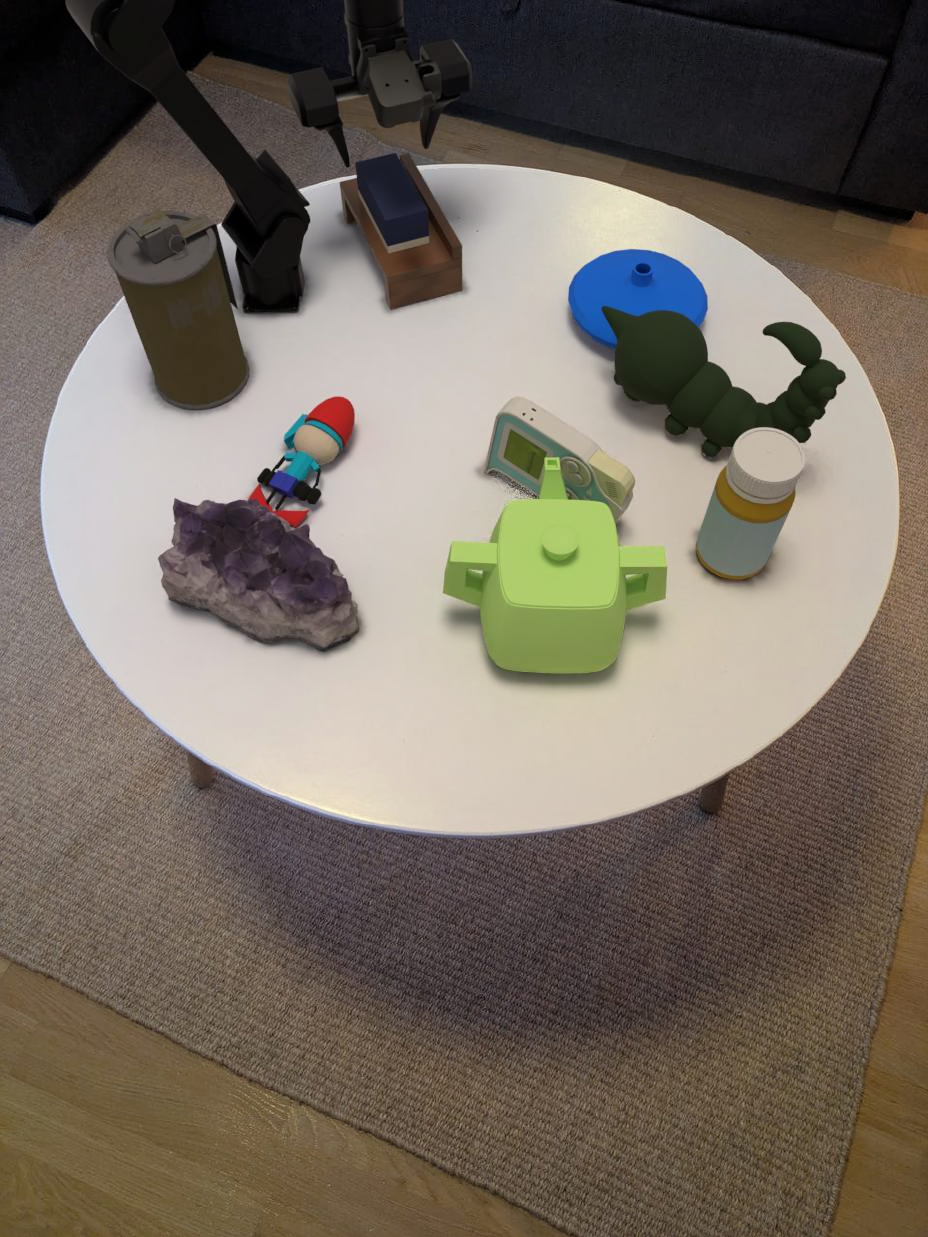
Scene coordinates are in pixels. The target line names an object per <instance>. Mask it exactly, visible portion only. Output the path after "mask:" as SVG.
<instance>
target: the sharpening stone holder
mask: <svg viewBox="0 0 928 1237" xmlns="http://www.w3.org/2000/svg"><path fill="white" fill-rule="evenodd" d="M399 159H400V161H401V163H402V165H403V166H404V168H405V170H406V172H407V173H408V175H409V177H410V179H411V181H412V182H413V184H414V186H415V188H416V189H417V191H418V193H419V195H420V197H421V198H422V200H423V202H424V204H425V205H426V207H427V209H428V222H429V243H428V244H424V245H420V246H417V247H413V248H409V249H405V250H401V251H397V252H393V253H390V254H388V252H387V250H386V248H385V246H384V244H383V242H382V240H381V238H380V236H379V234H378V233H377V231H376V229H375V227H374V225H373V223H372V221H371V219H370V217H369V215H368V213H367V211H366V209H365V207H364V205H363V203H362V201H361V199H360V198H359V194H358V185H357V177H354V178H350V179H346V180H342V181H339V190H340V198H341V205H342V214H343V218H344V220H345V222H346V223H347V224H350V223H355V222H356V224H357V226H358V228H359V230H360V232H361V234H362V236H363V238H364V240H365V242H366V244H367V246H368V248H369V249H370V252H371V254H372V256H373V258H374V259H375V262H376V264H377V266H378V268H379V269H380V271H381V273H382V275H383V281H384V294H385V302H386V304H387V306H388V308H389V310H391V311H392V310H395V309H398V308H403V307H407V306H410V305H413V304H417V303H421V302H424V301H428V300H432V299H436V298H439V297H443V296H446V295H450V294H455V293H459V292H461V291H463V244H462V243H461V241H460V239H459V237H458V236H457V234H456V233H455V231H454V229H453V227H452V225H451V224H450V222H449V220H448V218H447V217H446V215H445V213H444V211H443V210H442V208H441V206H440V205H439V203H438V201H437V199H436V198H435V196H434V194H433V192H432V191H431V189H430V187H429V185H428V183H427V182H426V180H425V179H424V177H423V175H422V173H421V172H420V170H419V168H418V165H417V164H416V162H415V161H414V159H413V158H412V156H411V154H410V153H409V152H407V153H403V154H400V155H399Z"/></svg>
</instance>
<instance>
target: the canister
mask: <svg viewBox="0 0 928 1237" xmlns="http://www.w3.org/2000/svg"><path fill="white" fill-rule="evenodd" d="M106 257H107V258H106V259H107V261H108V263H109V266H110V267H111V269H112V270H113V271H114V273H115V274H116V278H117V281H118V283H119V286H120V289H121V291H122V294H123V296H124V299H125V302H126V304H127V307H128V310H129V313H130V315H131V318H132V321H133V323H134V326H135V328H136V332H137V334H138V336H139V339H140V342H141V346H142V347H143V350H144V353H145V355H146V358H147V361H148V364H149V366H150V368H151V371H152V374H153V376H154V378H153V379H154V385H155V388H156V391H157V392H158V393H159V395H160V396H161V397H162V398H163V399H164V400H165V401H167V403H169V404H170V405H173V406H175V407H177V408H181V409H186V410H207V409H211V408H216V407H218V406H220V405H222V404H224V403H227V402H229V401H230V400H232V399H234V398H235V397H236V396H237V395H238V394H239V393H240V392H241V391H242V390H243V389H244V387H245V385H246V384H247V382H248V378H249V376H250V364H249V361H248V358H247V356H246V355H245V352H244V348H243V345H242V341H241V337H240V333H239V330H238V326H237V321H236V317H235V313H234V309H233V307H234V308H235V309H236V310H239V307H238V303H237V299H236V295H235V292H234V288H233V284H232V280H231V276H230V272H229V267H228V264H227V259H226V256H225V252H224V248H223V244H222V241H221V236H220V232H219V228H218V225H217V224H216V223H215V222H214V221H213V220H212V218H210V217H209V216H208V215H207V214H205V213H201V214H199V215H195V214H191V213H189V212H186V211H177V210H161V209H160V208H156V209H154V210H151V211H150V212H148V213H145V214H142V215H140V216H138V217H135V218H134V219H132V220H130V221H127V222H126V223H125V224H123V225H122V226H121V227H120V228H119V229H118V230H116V231H115V233H114V234H113V235H112V236H111V238H110V239H109V242H108V246H107V250H106Z"/></svg>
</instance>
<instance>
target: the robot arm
mask: <svg viewBox="0 0 928 1237" xmlns="http://www.w3.org/2000/svg"><path fill="white" fill-rule="evenodd" d="M176 1H177V0H65V1H64V2H65V6H66V9H67V11H68V13H69V14H70V16H71V18H72V19H73V20H74V22H75V23H76V24H77V26H78V27H79V28H80V29H81V31H82V32H83V33H84V35H85V36H86V37H87V39H88V40H89V41H90V43H91V44H92V46H93V47H94V48H95V50H96V51H97V52H98V54H100V56H101V57H102V58H103V59H105V61H107V62H108V63H109V64H111V66H113V67H114V68H115V69H116V70H118V71H119V72H120V73H121V74H123V75H124V76H125V77H126V78H127V79H129V80H130V81H131V82H133V83H134V84H136V85H138V86H139V87H141V88H142V89H144V90H146V92H149V93H150V94H151V96H153V97H154V98H155V100H156V101H157V102H158V103H159V104H160V106H162V108H163V109H164V110H165V112H167V113H168V115H169V116H170V117H171V119H172V120H173V121H174V122H175V123H176V124H177V125H178V126H179V128H180V129H181V130H182V132H184V134H185V135H186V136H187V137H188V138H189V140H190V141H191V142H192V143H193V144H194V146H196V148H197V149H198V150H199V151H200V152H201V153H202V155H203V156H204V157H205V158H206V159H207V161H208V162H209V163H210V164H211V165H212V167H213V168H214V169H215V170H216V172H218V174H219V175H220V176H221V177H222V179H223V181H224V183H225V185H226V188H227V190H228V192H229V194H230V196H231V198H232V199H233V201H234V202H233V203H232V205H231V207H230V208H229V210H228V212H227V213H226V215H225V216H224V218H223V220H222V222H221V227H222V228H223V230H224V231H225V233H226V234H227V235H228V237H230V240H232V242H233V243H234V244H235V246H236V248H235V249H236V250H235V256H234V262H235V266H236V270H237V274H238V278H239V282H240V286H241V290H242V294H243V298H242V307H241V308H242V312H244V313H246V314H249V313H250V314H251V313H253V314H254V313H255V314H256V313H257V314H259V313H260V314H261V313H296V312H298V311H300V303H301V298H302V297H303V296H304V292H305V291H304V290H305V277H304V271H303V264H302V260H301V254H302V250H303V243H304V239H305V235H306V234H307V232H308V230H309V225H310V224H311V216H310V213H309V212H308V210H307V209H306V207H308V206H310V201H308V200H307V198H306V197H305V196H304V195H303V193H302V192H301V191H300V190H299V188H298V187H297V186H296V185H295V184H294V182H293V181H292V180H291V177H289V175H288V174H287V173H286V172H285V170H284V169H283V168H282V167H281V166H280V165H279V163H278V162H277V161H276V160H275V159H274V157H273V156H272V155H271V154H270V152H268V150H267V149H264V150H263V151H262V152H261V153H260V154H259V155H258V157H255V156H254V155H252V154H251V153H250V152H248V151H247V150H246V148H245V147H244V146H243V145H242V143H241V142H240V140H239V139H238V137H236V136H235V134H234V133H233V132H232V130H231V129H230V128H229V127H228V125H227V124H226V123H225V122H224V120H223V119H222V118H221V117H220V115H219V114H218V113H217V111H215V109H214V107H212V105H211V103H209V101H208V100H207V99H206V97H204V95H203V94H202V93H201V91H200V90H199V89H198V87H197V86H196V85H195V84H194V82H192V80H191V79H190V78H189V76H188V75H187V74H186V73H185V71H184V70H183V69H182V67H181V65H180V64H179V62H178V59H177V57H176V54H175V52H174V49H173V47H172V45H171V42H170V41H169V39H168V37H167V35H166V33H165V31H164V30H163V28H162V27H163V26H164V25H165V23H166V21H167V20H168V19H169V17H170V16H171V14H172V12H173V9H174V8H175V4H176ZM419 1H420V2H421V1H423V0H419ZM343 3H344V12H343V18H344V24H345V26H346V32H347V40H348V51H349V53H347V55H348V63H349V66H350V69H351V76H346V77H342V78H337V79H333V80H332V79H331V80H330V79H329V78H328V75H327V74H326V72H325V69H324V67H322V66H321V67H315V68H312V69H307V70H302V71H299V72H294V73H291V74H290V75H289V77H288V79H287V82H286V88H287V94H288V99H289V101H290V104H291V105H292V107H293V110H294V112H295V114H296V116H297V118H298V120H299V123H300V124H301V126H302V127H304V128H309V129H310V128H313V129H315V131H318V132H322V131H325V132H326V133H327V134H328V135H329V137H330V138H331V139H332V142H333V143H334V145H335V147H336V149H337V151H338V153H339V156H340V158H341V160H342V162H343V164H344V166H345V168H346V169H348V168H350V167H351V165H350V155H349V154H350V153H349V151H348V146H347V142H346V137H345V134H344V128H343V127H344V123H343V121H342V118H341V117H340V116H341V115H340V109H339V103H341V102H345V101H349V100H354V99H360V98H364V97H367V96H368V98H369V101H370V104H371V106H372V109H373V112H374V116H375V119H376V123H378V125H379V126H380V127H382V128H385V129H392V128H395V127H396V126H399V125H403V124H408V123H417V122H419V133H420V139H421V140H420V141H421V145H422V147H423V149H424V150H428V149H429V147H430V145H431V143H432V139H433V136H434V134H435V130H436V127H437V125H438V122H439V119H440V118H441V115H442V113H443V110H444V108H445V107H446V106H447V105H449V104H450V103H451V102H454V101H457V100H459V99H460V98H461V96H462V94H463V93H464V94H465V93H468V92H471V90H472V89H473V69H472V65H471V62H470V61H469V59H468V58H467V56H466V55H465V54H464V52H463V50H462V49H461V47H460V45H459V44H458V43H457V42H456V41H455V40H453V39H452V38H451V39H445V40H441V41H436V42H431V43H427V44H423V45H421V47H420V48H419V59H416V60H415V59H414V56H413V54H412V50H411V48H410V40H409V36H408V35H409V34H408V31H407V30H406V28H405V14H404V13H405V12H404V0H343Z"/></svg>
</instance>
